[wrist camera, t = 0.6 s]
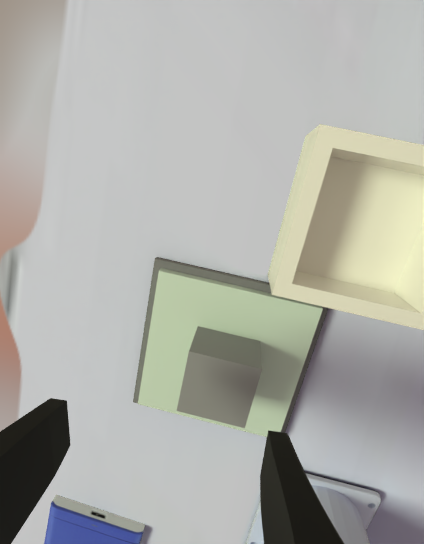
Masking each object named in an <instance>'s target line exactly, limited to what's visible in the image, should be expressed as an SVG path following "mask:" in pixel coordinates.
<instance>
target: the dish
mask: <svg viewBox="0 0 424 544" xmlns="http://www.w3.org/2000/svg"><path fill="white" fill-rule="evenodd" d="M268 278H269V283H270V288H271V293H272V295H275V296H279V297H284V298H288V299H292V300H297V301H301V302H305V303H309V304H314V305H318V306H322V307H327V308H331V309H335V310H340V311H344V312H348V313H353V314H357V315H361V316H365V317H370V318H374V319H378V320H383V321H387V322H391V323H396V324H400V325H404V326H409V327H413V328H417V329H421V330H424V145H420V144H416V143H411V142H406V141H401V140H396V139H391V138H386V137H381V136H376V135H371V134H366V133H361V132H356V131H351V130H346V129H341V128H336V127H331V126H326V125H321V124H320V125H319V126H317V127H316V128H315V129H314V130H313V131H311V132H310V133H309V134H308V135H306V137H305V140H304V144H303V148H302V151H301V155H300V159H299V162H298V166H297V169H296V173H295V177H294V180H293V184H292V188H291V191H290V195H289V199H288V202H287V206H286V210H285V213H284V217H283V221H282V224H281V228H280V232H279V235H278V239H277V243H276V246H275V250H274V254H273V257H272V261H271V265H270V268H269V272H268Z"/></svg>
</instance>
